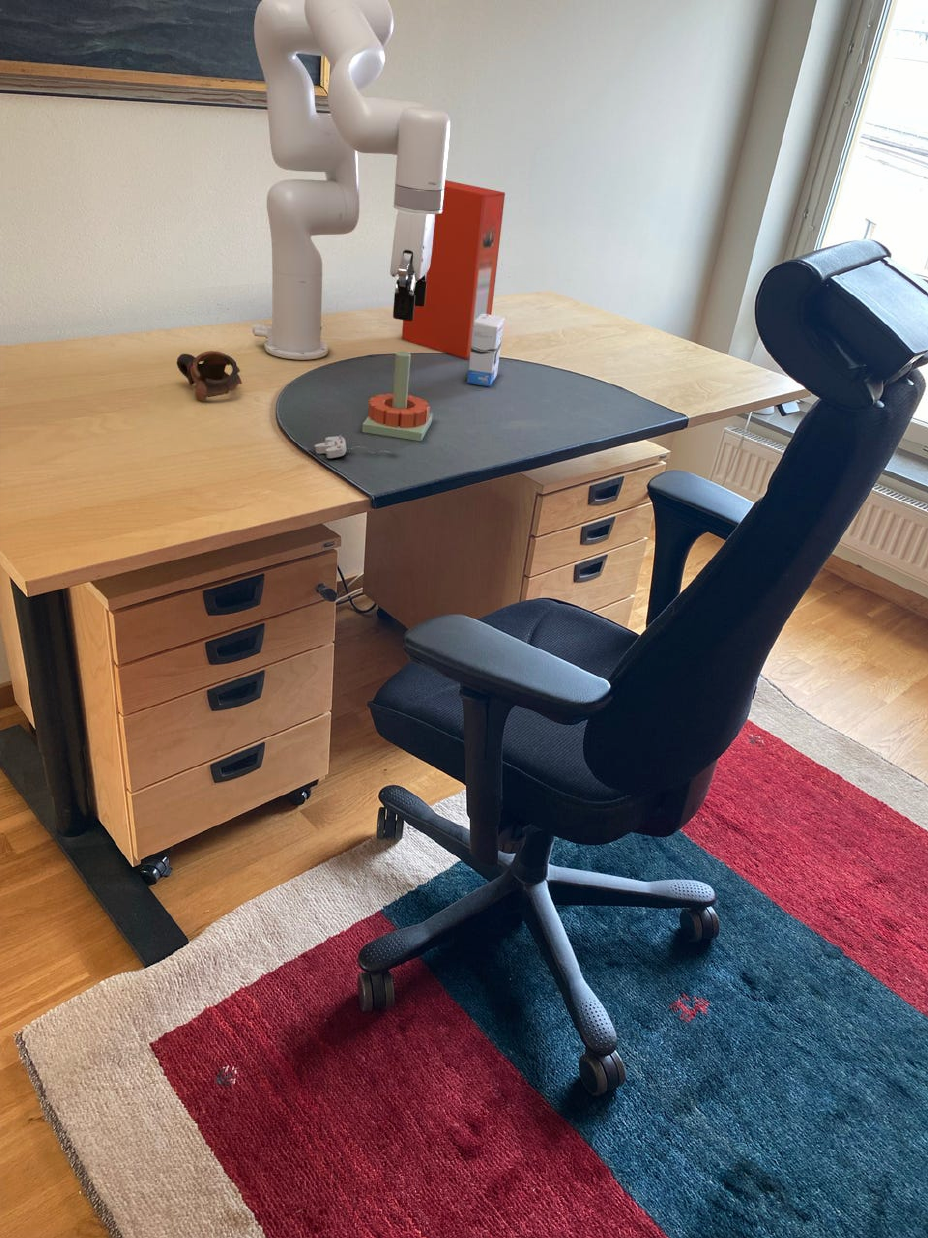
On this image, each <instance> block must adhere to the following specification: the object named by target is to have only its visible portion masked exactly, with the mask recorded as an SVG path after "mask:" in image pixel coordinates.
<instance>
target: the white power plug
mask: <svg viewBox="0 0 928 1238" xmlns="http://www.w3.org/2000/svg"><path fill="white" fill-rule="evenodd" d="M357 447H358V448H361V446H354V447H351V448H350V449H355V448H357ZM363 448H365V449H366V450H367V449H368V448H367V447H365V446H364V447H363ZM314 450H315V454H318V455H320V454H325V455H326V458H327V459H333V458H340V457H343V456H345V455H346V453H347V451H348V447H347V442H346V439H345V438H344V437H343V436H342V434H339V435H338V436H337V435H336V436H327V437H325V439H324V442H320V443H316V444H314ZM367 452H369V450H367ZM381 452H382V450H380V451H379V453H381ZM385 452H387V453H391V456H392V455H393V454H392V452H390V451H387V450H385ZM371 453H372V454H374V451H373V452H372V451H371Z"/></svg>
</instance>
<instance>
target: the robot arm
mask: <svg viewBox="0 0 928 1238" xmlns="http://www.w3.org/2000/svg"><path fill="white" fill-rule="evenodd" d="M254 16H255V17H254V22H253V23H254V24H253V36H254V44H255V45H254V46H255V49H256V54H257V59H258V61H259V64H260V68H261V71H262V74H263V78H264V82H265V89H266V90H265V91H266V104H267V106H266V107H267V119H268V130H269V131H268V133H269V144H270V151H271V155H272V159H273V161H274V163H275V165H276V166H277V167H278V168H280V169H283V170H286V171H291V172H304V173H305V172H306V173H307V172H308V173H324V174H325V179H326V180H325V179H303V178H295V179H294V178H293V179H291V178H289V179H284V180H279V181H277V182H276V183H274V184H273V185H272V186H271V187H270V188H269V190H268V192H267V195H266V196H267V197H266V211H267V217H268V224H269V230H270V238H271V270H272V271H271V272H272V273H271V275H272V276H271V280H272V281H271V284H272V285H271V286H272V287H271V289H272V293H271V296H272V297H271V299H272V301H271V303H272V304H271V305H272V306H271V307H272V309H271V311H272V312H271V314H272V316H271V318H272V319H271V320H272V321H271V322H272V323H271V324H268V325H264V324H261V323H253V324H252V334H254V337H260V338H261V337H262V338H265V339H266V340H265V342H264V344H263V349H264V351H265V352H266V353H268V354H269V355H272V356H274V357H277V358H281V359H286V360H287V359H288V360H298V361H307V360H317V359H320V358H323V357H324V358H325V356H326V355H328V353H329V346H328V345H327V344H326V343H325V342H323V341H321V340H322V339H321V338H322V337H321V335H322V301H323V300H322V298H323V297H322V296H323V259H322V255H321V254H320V251H319V250H318V249H317V247H316V245H315V243H314V241H313V240H312V237H313V236H314V237H315V236H340V235H347V234H350V233H352V232H353V231H354V230H355V229H356V227H357V225H358V222H359V220H360V219H359V218H360V185H359V183H360V182H359V161H358V159H359V158H358V157H359V156H358V153H361V154H375V155H377V154H379V155H393V156H394V155H395V156H396V165H395V166H396V167H395V180H394V182H395V183H394V194H393V195H394V196H393V208H394V209H395V210H397V215H396V220H395V227H394V235H393V242H392V252H391V260H390V270H389V274H390V276H391V277H392V278H396V276H397V279H396V283H395V289H394V296H393V297H394V298H393V308H392V309H393V311H392V317H393V319H394V320H400V321H403V320H405V321H412V320H413V316H414V305H415V306H421V307H423V306H424V305H425V297H426V286H427V282H425V281H426V279H427V271H428V270H429V268H430V263H431V256H432V246H433V235H434V223H435V214H440V213H442V207H443V196H444V185H445V180H446V176H447V175H446V174H447V165H448V154H449V146H450V145H449V144H450V135H451V119H450V116H449V115H448V114H447V113H446V112H445V111H443V110H440V109H435V108H429V107H428V106H426V105H425V104H423V103H421V102H419V101H414V100H404V99H393V98H383V97H369V96H368V97H367V96H363V95H362V94H361V92H360V91H361V90H363V89H365V88H367V87H369V86H370V85H372V84H373V83H374V82H375V81H376V80H377V79H378V78H379V77H380V75H381V73H382V71H383V69H384V66H385V61H386V55H385V49H384V47H385V46H386V45H387V44H388V43H389V41H390V40H391V37H392V35H393V31H394V14H393V9H392V7H391V4H390V2H389V0H261V1H260V2H259V3H258V6H257V8H256V11H255V15H254ZM298 54H301V55H310V56H318V57H325V58H326V61H328V64H329V65H330V67H331V69H332V70H331V72H330V75H329V79H328V84H327V103H328V109H329V113H330V115H329V114H318V112H317V109H316V96H315V95H316V94H315V85H314V82H313V80H312V77H311V76H310V73H309V72H308V70H307V68H306V67H305V65H304V64H303V62H302V60H301V59H300V58H299V57H298V56H297V55H298Z"/></svg>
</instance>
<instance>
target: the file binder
mask: <svg viewBox="0 0 928 1238" xmlns="http://www.w3.org/2000/svg"><path fill="white" fill-rule="evenodd" d="M505 197H506V192H504V191H500V190H495V189H490V188H486V187H485V188H484V187H481V186H475V185H472V184H466V183H462V182H456V181H451V180H447V179H445V185H444V196H443V207H442V213H440V214H435V223H434V235H433V246H432V256H431V263H430V268H429V270H428V271H427V279H426V281H425V282H427V286H426V297H425V305H424V306H423V307H421V306H415V305H414V316H413V320H412V321H405V320H402V329H401V330H402V332H401V339H402V340H403V341H406V342H409V343H412V344H416V345H418V346H423V347H426V348H428V349H432V350H435V351H439V352H442V353H444V354H448V355H451V356H455V357H458V358H461V359H464V360H469V359H470V351H471V342H472V333H473V324H474V321H475V320H476V319H477V317H479V315H481V314H488V315H492V313H493V306H494V305H493V303H494V294H495V288H496V287H495V286H496V277H497V269H498V258H499V249H500V244H501V243H500V241H501V234H502V224H503V214H504V206H505Z"/></svg>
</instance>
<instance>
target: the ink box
mask: <svg viewBox="0 0 928 1238" xmlns="http://www.w3.org/2000/svg"><path fill="white" fill-rule="evenodd" d="M505 319H506V318H505V317H502V316H498V315H493V314H491V315H488V314H481V315H479V317H477V319H476V320H475V321H474V324H473V333H472V342H471V351H470V359H468V360H469V361H468V362H469V363H468V368H467V377H466V383H467V384H471V385H476V386H477V385H478V386H484V387H489V388H490V387H491V386H492V384H493V383H494V381H495V380H496V377H497V376H498V369H499V361H500V353H501V346H502V338H503V332H504V326H505V325H504V324H505Z"/></svg>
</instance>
